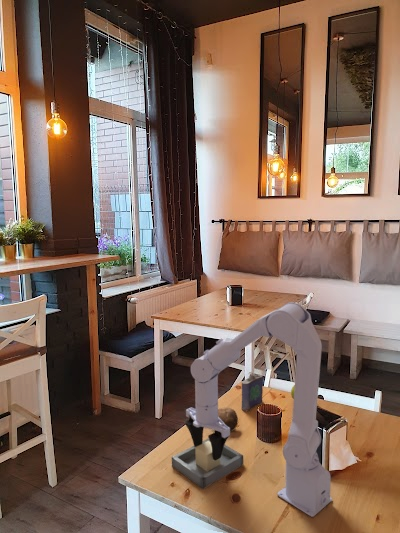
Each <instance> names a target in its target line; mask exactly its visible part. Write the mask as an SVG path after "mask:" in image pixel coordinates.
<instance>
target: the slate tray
mask: <svg viewBox="0 0 400 533" xmlns="http://www.w3.org/2000/svg"><path fill="white" fill-rule="evenodd" d="M207 441H210V440H209V438H208V437H207V438H206V439H203V442H202V444H203V443H205V442H207ZM243 465H244V455H243V454H241V453H239V452H238V451H236V450H235V449H234V448H231V447H230V446H228V445H226V444H225V445H224V447H223V451H222V455H221V458H220V465H218V466H217V467H215V468H213V469H211V470H210V471H208V472H207V471H206V470H204V469H203V468H201V467H200V466H198V465H197V464H196V453H195V447H194V445H193V446H190V447H188V448H187V449H184V450H183V451H181V452H179V453H177V454H174V455H173V456H171V467H173V469H175V470H176V471H178V472H179V473H180V474H182V475H183V476H184V477H186V478H187V479H189V480H190V481H191V482H192V483H193V484H195V485H197V486H198V487H199V488H200V489H202V490H204V489H206V488H207V487H209V486H211V485H212V484H214V483H215V482H218V481H219V480H221V479H222V478H224V477H225V476H227V475H228V474H230V473H232V472H233V471H235V470H237V469H238V468H240V467H242V466H243Z"/></svg>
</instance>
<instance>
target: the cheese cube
mask: <svg viewBox="0 0 400 533" xmlns="http://www.w3.org/2000/svg"><path fill="white" fill-rule="evenodd" d="M195 453H196V464H197V465H198V466H200V467H201V468H203V469H204V470H206V471H207V472H208V471H210V470H211V469H213V468H215V467H217V466H218V465H220V458H219V459H217V460H214V459H213V456H212V446H211V442H210V441H207V442H205V443H203V444H201V445H199V446H197V447H195Z"/></svg>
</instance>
